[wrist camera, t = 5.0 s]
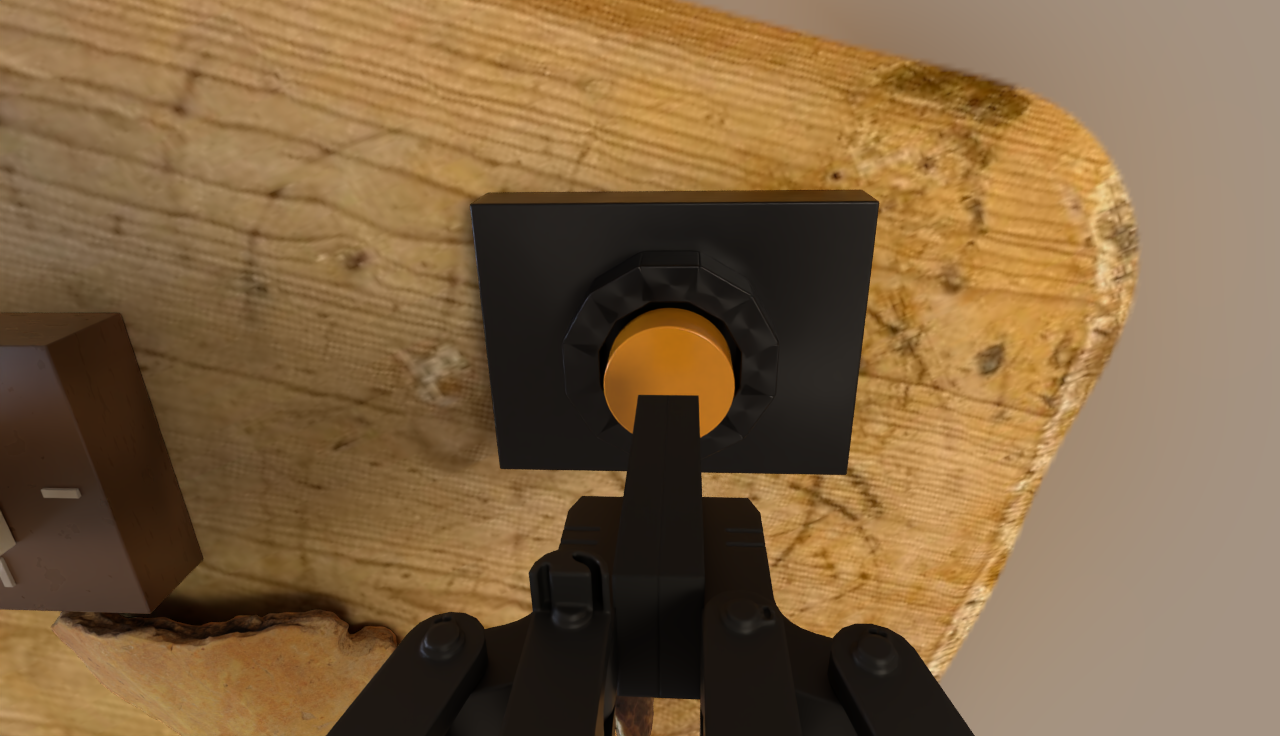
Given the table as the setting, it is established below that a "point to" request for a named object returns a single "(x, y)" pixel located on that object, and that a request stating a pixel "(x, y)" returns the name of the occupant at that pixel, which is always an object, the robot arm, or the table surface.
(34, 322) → the dimmer panel
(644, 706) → the oyster shell
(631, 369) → the light button
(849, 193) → the button box
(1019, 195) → the table surface
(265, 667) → the tan bark slab
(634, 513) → the robot arm
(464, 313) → the table surface
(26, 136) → the table surface
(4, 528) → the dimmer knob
